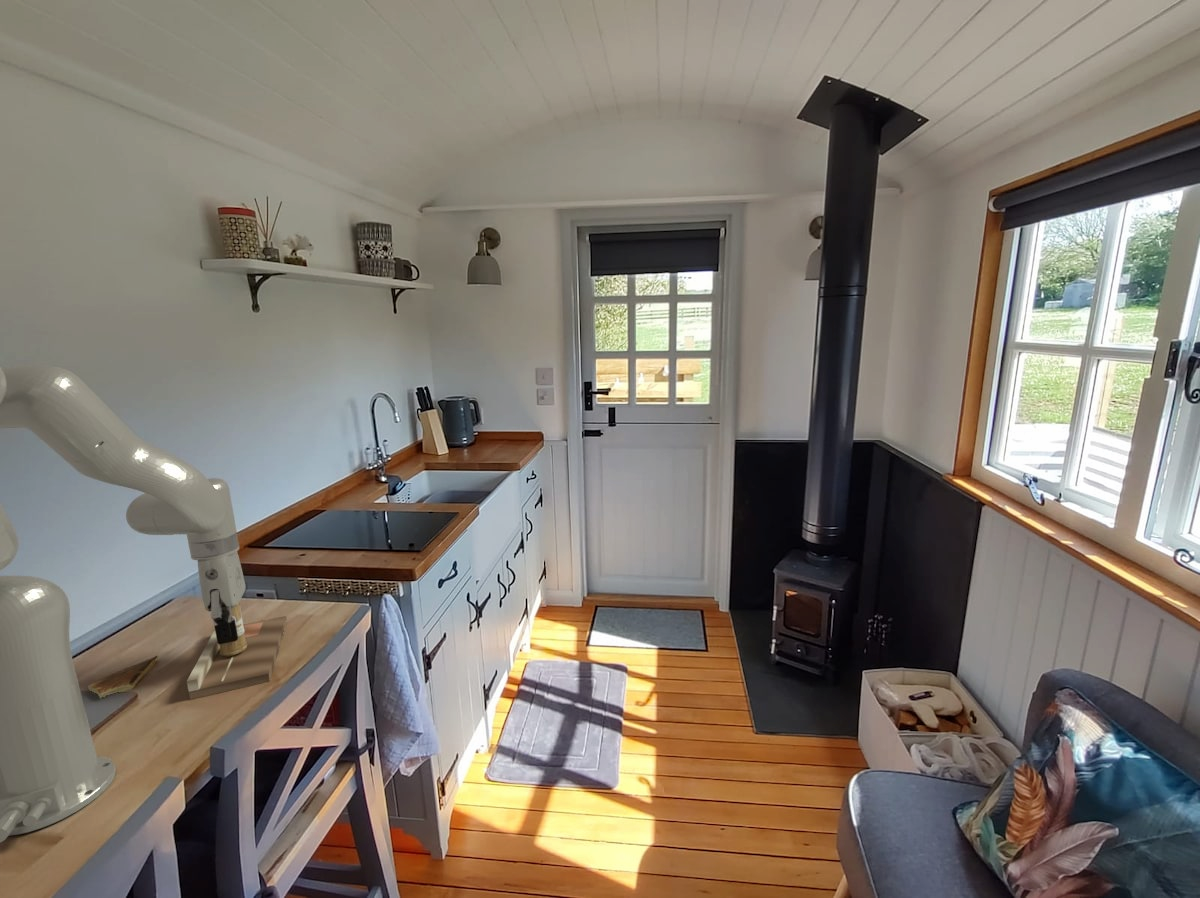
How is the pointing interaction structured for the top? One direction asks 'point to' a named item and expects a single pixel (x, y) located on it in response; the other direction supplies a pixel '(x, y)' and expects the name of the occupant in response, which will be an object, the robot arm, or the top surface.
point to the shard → (122, 678)
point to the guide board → (238, 660)
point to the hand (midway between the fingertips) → (231, 634)
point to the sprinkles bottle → (240, 644)
